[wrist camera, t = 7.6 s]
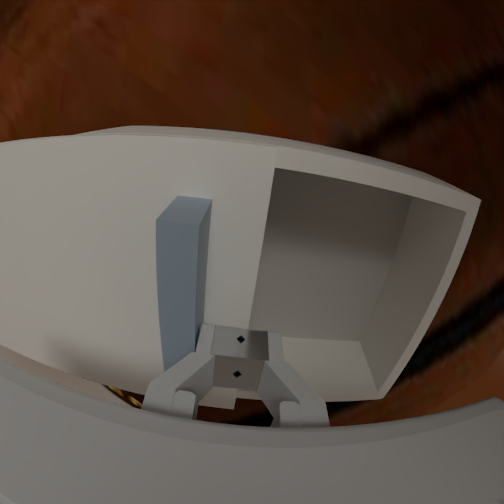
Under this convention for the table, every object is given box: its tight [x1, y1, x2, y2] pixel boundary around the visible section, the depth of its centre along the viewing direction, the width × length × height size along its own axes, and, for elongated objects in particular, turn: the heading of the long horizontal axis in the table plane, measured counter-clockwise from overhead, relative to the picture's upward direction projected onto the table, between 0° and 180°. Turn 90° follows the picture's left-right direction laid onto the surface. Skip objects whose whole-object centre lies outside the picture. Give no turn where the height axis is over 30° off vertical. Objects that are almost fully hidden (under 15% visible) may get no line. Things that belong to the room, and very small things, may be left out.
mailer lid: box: [0, 134, 278, 417], centre depth 11 cm, size 14×18×3 cm
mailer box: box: [76, 126, 481, 402], centre depth 15 cm, size 14×18×6 cm
